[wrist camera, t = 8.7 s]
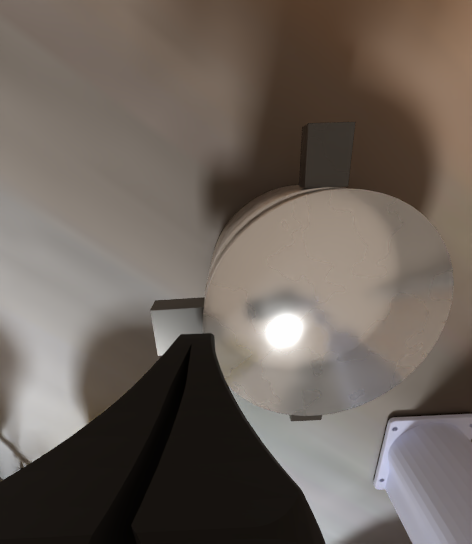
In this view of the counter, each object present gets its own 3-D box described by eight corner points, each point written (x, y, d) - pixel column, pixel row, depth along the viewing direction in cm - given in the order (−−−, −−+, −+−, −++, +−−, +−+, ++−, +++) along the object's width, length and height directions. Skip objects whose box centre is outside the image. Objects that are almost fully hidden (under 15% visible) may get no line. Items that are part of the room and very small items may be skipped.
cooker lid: (409, 391, 16) (421, 405, 15) (172, 413, 15) (170, 429, 14) (465, 182, 11) (487, 183, 10) (138, 195, 10) (131, 196, 10)
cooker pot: (362, 368, 21) (401, 423, 16) (217, 374, 21) (214, 431, 16) (403, 134, 15) (482, 115, 10) (201, 141, 15) (188, 124, 10)
